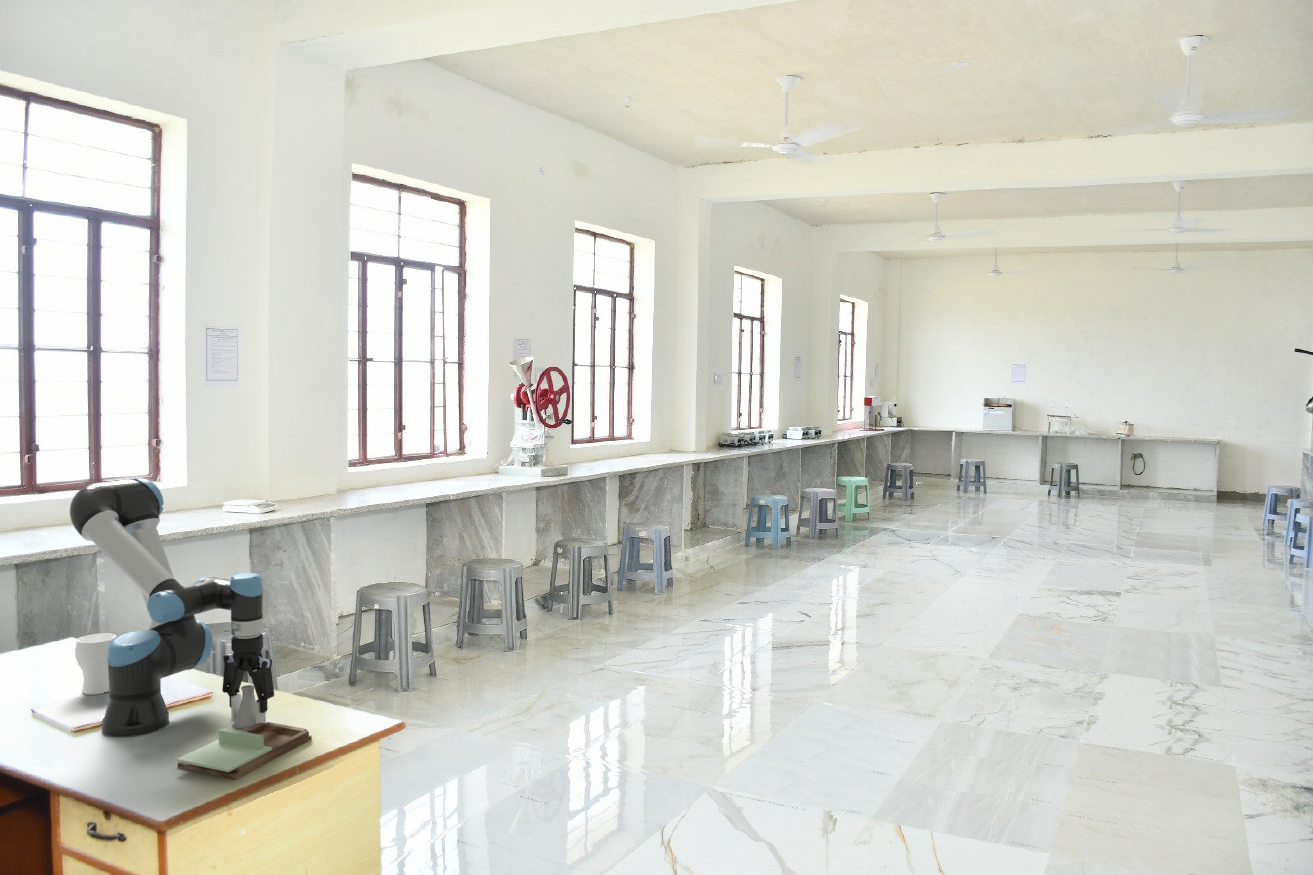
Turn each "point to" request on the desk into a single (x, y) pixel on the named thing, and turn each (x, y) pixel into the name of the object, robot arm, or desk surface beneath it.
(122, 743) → the desk surface
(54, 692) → the desk surface
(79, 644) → the cup
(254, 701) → the flask
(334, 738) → the desk surface
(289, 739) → the tray
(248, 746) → the cover
